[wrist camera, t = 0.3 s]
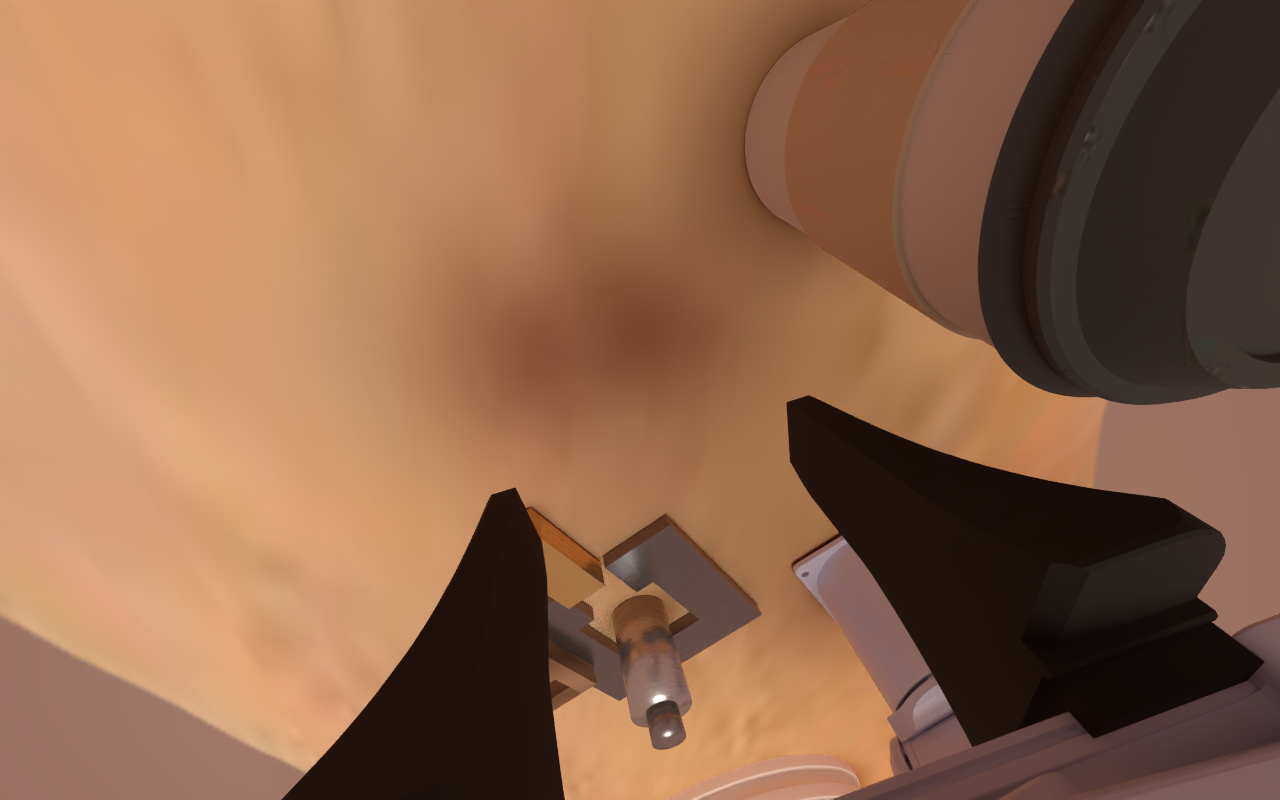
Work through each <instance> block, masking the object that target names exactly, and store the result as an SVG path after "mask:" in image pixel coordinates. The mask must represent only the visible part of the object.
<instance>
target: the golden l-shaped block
mask: <svg viewBox="0 0 1280 800" xmlns="http://www.w3.org/2000/svg"><path fill="white" fill-rule="evenodd" d="M527 512H528V514H529V516H530V518H531V520H532V522H533V524H534V526H535V528H536V530H537V532H538V534H539V537H540V539H541V541H542V545H543V552H544V558H545V565H546V573H547V587H548V596H550V597H551V598H553V599H554V600H556V601H557V602H559V603H560V604H562V605H563V606H565V607H566V608H568V609H570V608H571V607H573V606H574V605H576V604H577V603H579V602H580V601H582V600H583V599H585V598H586V597H588V596H590V595H591V594H593V593H594V592H596V591H597V590H599V589H600V588H602V587H603V586H605V584H604V579H603V574H602V568H601V563H600V562H599V561H598V560H597V559H595V558H594V557H593V556H591V555H590V554H589V553H588V552H586V551H585V550H584V549H582V548H581V547H580V546H579V545H577V544H576V543H575V542H573V541H572V540H571V539H570V538H568V537H567V536H566V535H564V534H563V533H562V532H561V531H559V530H558V529H557V528H555V527H554V526H553V525H552V524H550V523H549V522H548V521H546V520H545V519H544V518H543V517H541V516H540V515H539V514H537V513H536V512H535V511H534V510H532V509H531V508H529V509H528V510H527Z"/></svg>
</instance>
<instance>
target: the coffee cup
mask: <svg viewBox="0 0 1280 800" xmlns="http://www.w3.org/2000/svg"><path fill="white" fill-rule="evenodd" d="M745 158H746V165H747V170H748V174H749V177H750V180H751V183H752V186H753V188H754V190H755V192H756V194H757V195H758V197H759V199H760V200H761V201H762V203H763V204H764V205H765V206H766V207H767V208H768V210H770V211H771V212H772V213H773V214H774V215H776V216H777V217H778V218H780V219H782V220H783V221H785V222H787V223H788V224H790V225H792V226H793V227H795V228H797V229H798V230H800V231H802V232H803V233H805V234H806V235H808V236H810V238H811V239H812V240H813V241H814V242H815V243H816V244H817V245H819V246H820V247H821V248H822V249H824V250H825V251H827V252H828V253H830V254H831V255H833V256H835V257H836V258H838V259H839V260H841V261H842V262H844V263H845V264H847V265H848V266H850V267H852V268H853V269H855V270H856V271H858V272H859V273H861V274H862V275H864V276H865V277H867V278H869V279H870V280H872V281H873V282H875V283H876V284H878V285H879V286H881V287H882V288H884V289H886V290H887V291H889V292H890V293H892V294H893V295H895V296H896V297H898V298H899V299H901V300H903V301H904V302H906V303H907V304H909V305H910V306H912V307H913V308H915V309H916V310H918V311H920V312H921V313H923V314H924V315H926V316H927V317H929V318H930V319H932V320H933V321H935V322H937V323H938V324H940V325H941V326H943V327H944V328H946V329H948V330H950V331H952V332H954V333H957V334H959V335H962V336H965V337H969V338H974V339H980V340H982V341H984V342H986V343H987V344H989V345H991V346H992V347H994V348H996V350H997V352H998V353H999V355H1000V356H1001V358H1002V359H1003V360H1004V362H1005V363H1006V364H1007V365H1008V366H1009V367H1010V368H1011V369H1012V370H1013V371H1014V372H1015V373H1016V374H1017V375H1018V376H1020V377H1021V378H1022V379H1024V380H1025V381H1027V382H1028V383H1030V384H1032V385H1033V386H1035V387H1037V388H1040V389H1042V390H1045V391H1048V392H1051V393H1054V394H1059V395H1064V396H1072V397H1100V398H1103V399H1106V400H1109V401H1113V402H1118V403H1124V404H1134V405H1151V404H1163V403H1171V402H1179V401H1184V400H1190V399H1195V398H1199V397H1203V396H1207V395H1211V394H1214V393H1217V392H1220V391H1223V390H1226V389H1229V388H1236V389H1267V388H1277V387H1280V0H871V1H870V2H868V3H867V4H865V5H864V6H863V7H861V8H860V9H859V10H857V11H856V12H855V13H854V14H851V15H849V16H847V17H845V18H843V19H841V20H839V21H837V22H835V23H833V24H831V25H829V26H827V27H825V28H823V29H821V30H819V31H817V32H815V33H813V34H811V35H809V36H807V37H805V38H804V39H802V40H801V41H799V42H798V43H796V44H795V45H794V46H792V47H791V48H790V49H789V50H788V51H786V52H785V53H784V54H783V55H782V56H781V57H780V58H779V60H778V61H777V62H776V63H775V64H774V65H773V67H772V68H771V69H770V71H769V72H768V74H767V75H766V77H765V78H764V80H763V82H762V84H761V85H760V87H759V89H758V91H757V94H756V96H755V98H754V101H753V104H752V106H751V110H750V113H749V117H748V121H747V127H746V135H745Z"/></svg>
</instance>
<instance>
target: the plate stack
mask: <svg viewBox="0 0 1280 800" xmlns="http://www.w3.org/2000/svg"><path fill="white" fill-rule="evenodd" d="M859 789H860V783H859V780H858V778H857V776H856V774H855V772H854V770H853V768H852V766H851V765H850V764H849V763H848V762H846V761H845V760H843V759H841V758H838V757H835V756H830V755H824V754H798V755H789V756H782V757H776V758H771V759H766V760H762V761H758V762H754V763H750V764H747V765H743V766H740V767H737V768H734V769H731V770H728V771H725V772H722V773H720V774H717V775H715V776H712V777H710V778H707V779H705V780H703V781H700V782H698V783H696V784H694V785H692V786H690V787H688V788H686V789H684V790H682V791H680V792H678V793H676V794H675V795H673V796H671V797H669V798H668V799H666V800H832V799H834V798H837V797H840V796H842V795H845V794H848V793H850V792H853V791H856V790H859Z"/></svg>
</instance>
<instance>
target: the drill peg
mask: <svg viewBox="0 0 1280 800" xmlns="http://www.w3.org/2000/svg"><path fill="white" fill-rule="evenodd" d="M612 620H613V626H614V631H615V636H616V641H617V647H618V652H619V657H620V662H621V668H622V673H623V678H624V683H625V689H626V694H627V699H628V704H629V710H630V715H631V719H632V722H633V723H634V724H636V725H638V726H641V727H649V732H650V737H651V741H652V746H653V747H654V748H655V749H659V750H664V749H669V748H672V747H675V746H677V745H679V744H680V743H682V742H683V741H684V740H685V738H686V733H685V729H684V726H683V722H682V718H681V717H682V716H683V715H685V714H686V713H687V712H688V711H689V709H690V707H691V705H692V699H691V695H690V692H689V689H688V685H687V682H686V678H685V675H684V672H683V668H682V665H681V662H680V658H679V655H678V652H677V648H676V645H675V641H674V638H673V635H672V631H671V628H670V625H669V621H668V618H667V615H666V611H665V608H664V605H663V602H662V601H661V600H660V599H658V598H657V597H654V596H649V595H642V596H636V597H633V598H630V599H628V600H626V601H624V602H623V603H621V604H620V605H619V606H618V607H617V608H616V609H615V610H614V612H613V615H612Z"/></svg>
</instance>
